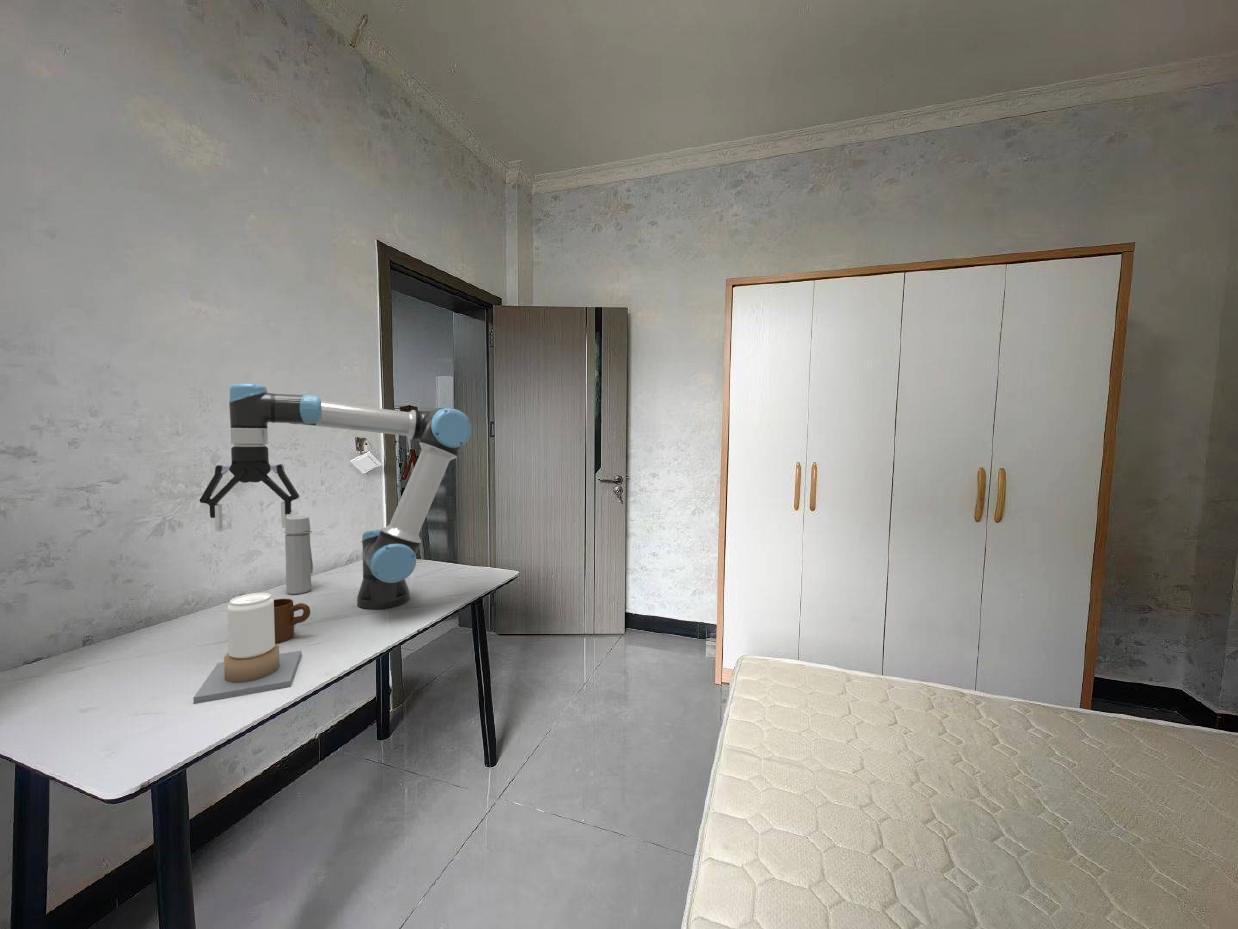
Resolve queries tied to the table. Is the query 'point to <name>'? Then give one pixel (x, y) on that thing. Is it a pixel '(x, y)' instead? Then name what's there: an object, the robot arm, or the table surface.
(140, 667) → the table surface
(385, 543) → the robot arm
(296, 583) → the water bottle
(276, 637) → the mug
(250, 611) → the beverage can
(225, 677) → the pedestal
